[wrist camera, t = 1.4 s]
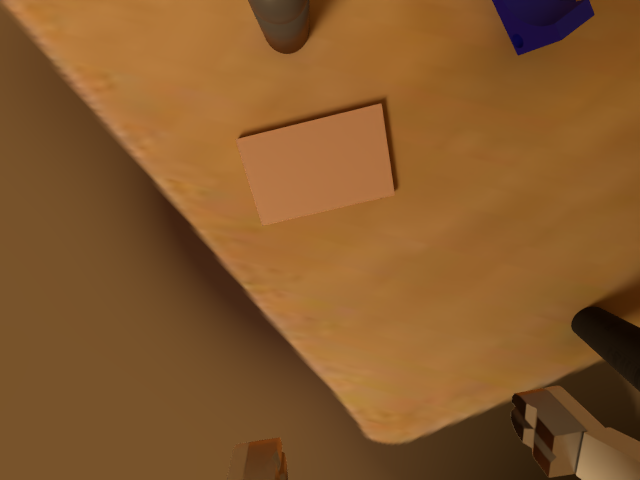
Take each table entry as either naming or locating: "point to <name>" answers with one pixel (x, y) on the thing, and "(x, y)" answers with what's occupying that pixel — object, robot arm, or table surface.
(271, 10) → the charger plug
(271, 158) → the board
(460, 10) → the table surface
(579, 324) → the drinking cup
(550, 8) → the blue u-shaped bracket
